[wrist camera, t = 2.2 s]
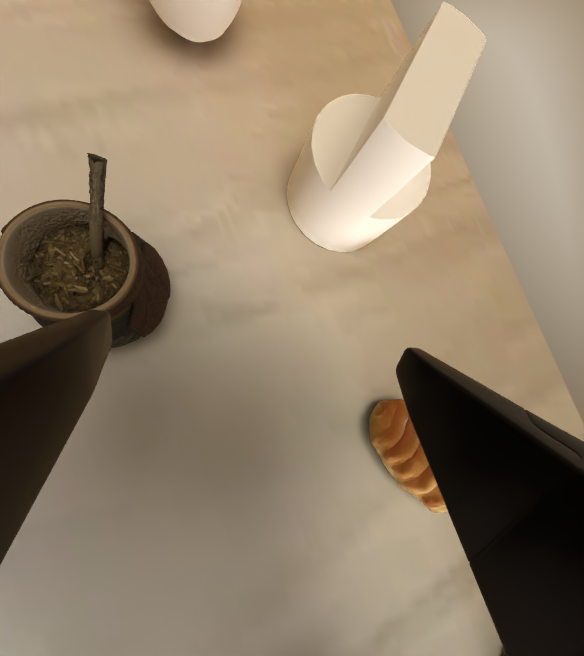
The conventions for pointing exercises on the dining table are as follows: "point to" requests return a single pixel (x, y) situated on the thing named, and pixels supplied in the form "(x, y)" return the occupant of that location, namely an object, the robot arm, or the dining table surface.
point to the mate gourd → (83, 264)
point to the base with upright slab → (383, 141)
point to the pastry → (404, 453)
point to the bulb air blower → (197, 17)
